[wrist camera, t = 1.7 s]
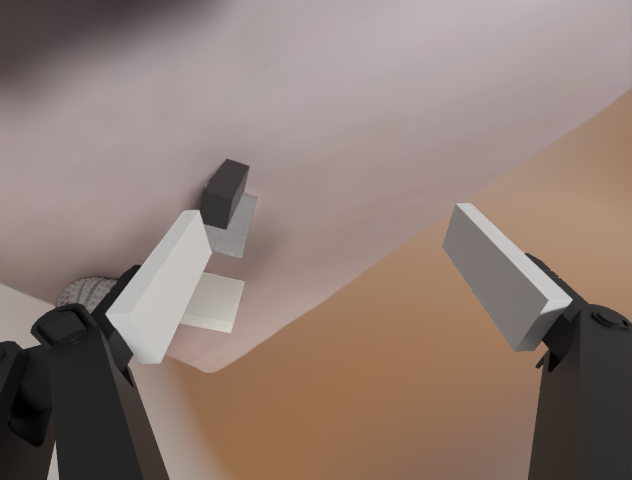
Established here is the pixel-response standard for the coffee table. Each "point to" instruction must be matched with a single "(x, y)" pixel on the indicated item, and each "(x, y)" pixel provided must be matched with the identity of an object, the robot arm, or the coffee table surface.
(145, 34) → the coffee table surface
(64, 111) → the coffee table surface
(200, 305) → the tile
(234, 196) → the grey l-shaped block
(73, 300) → the sea urchin shell
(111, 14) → the coffee table surface
